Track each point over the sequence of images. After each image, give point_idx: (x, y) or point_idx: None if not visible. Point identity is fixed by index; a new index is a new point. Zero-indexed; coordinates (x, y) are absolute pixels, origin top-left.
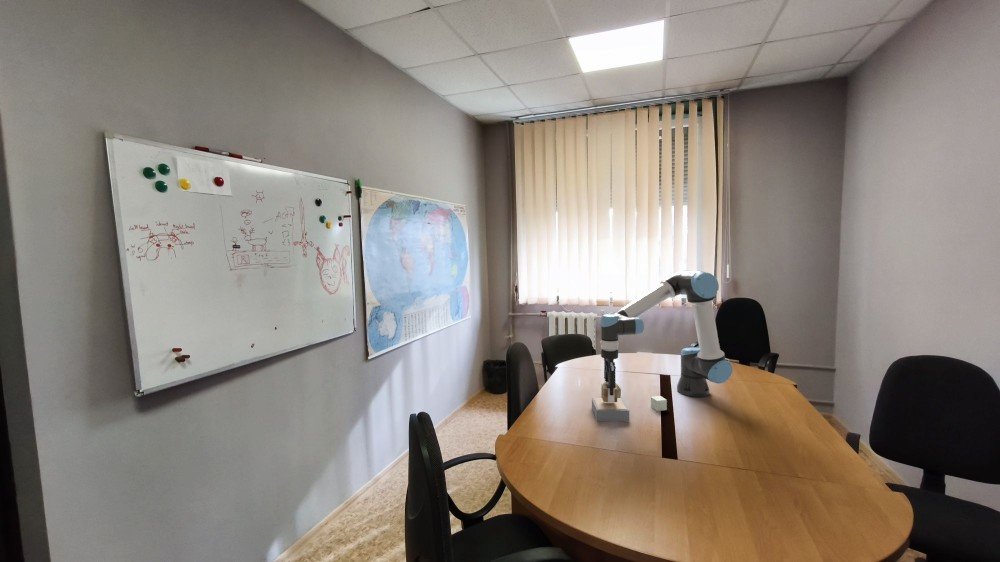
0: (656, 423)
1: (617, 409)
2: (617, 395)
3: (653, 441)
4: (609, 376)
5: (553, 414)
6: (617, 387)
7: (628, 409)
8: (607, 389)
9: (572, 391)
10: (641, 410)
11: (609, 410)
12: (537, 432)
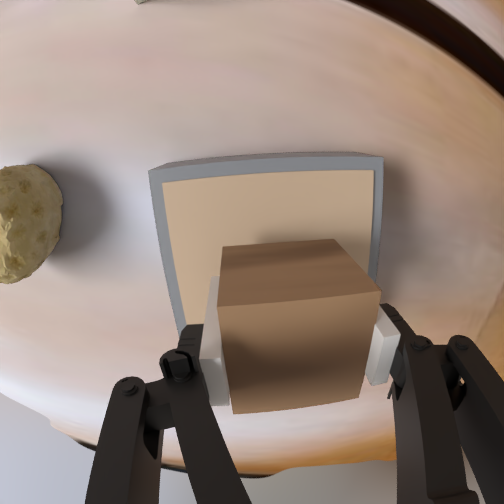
0: (362, 24)
1: (369, 233)
2: (42, 186)
3: (495, 117)
4: (483, 465)
5: (277, 431)
6: (5, 197)
7: (370, 159)
8: (363, 372)
9: (44, 367)
10: (191, 51)
11: (374, 281)
12: (386, 434)
